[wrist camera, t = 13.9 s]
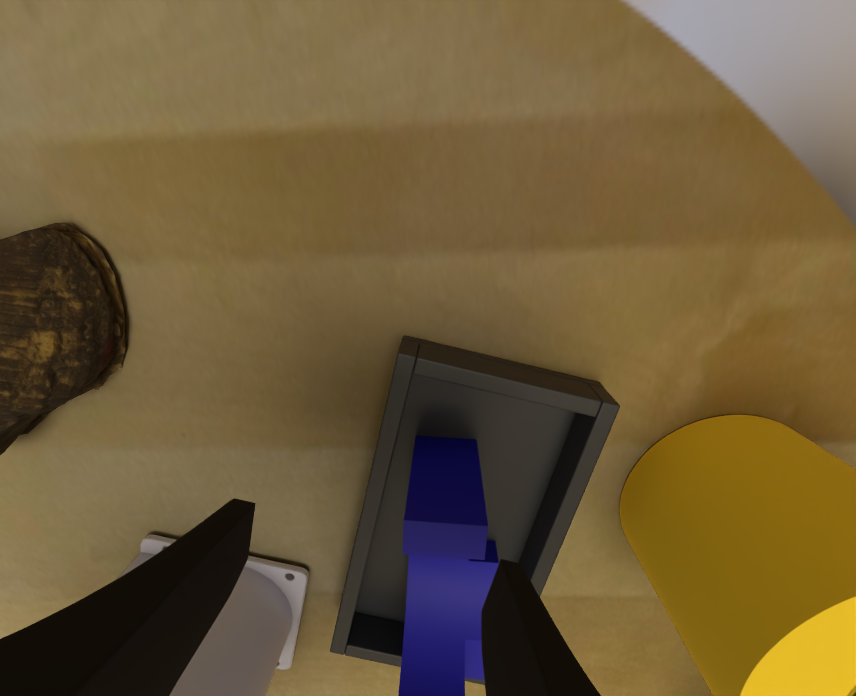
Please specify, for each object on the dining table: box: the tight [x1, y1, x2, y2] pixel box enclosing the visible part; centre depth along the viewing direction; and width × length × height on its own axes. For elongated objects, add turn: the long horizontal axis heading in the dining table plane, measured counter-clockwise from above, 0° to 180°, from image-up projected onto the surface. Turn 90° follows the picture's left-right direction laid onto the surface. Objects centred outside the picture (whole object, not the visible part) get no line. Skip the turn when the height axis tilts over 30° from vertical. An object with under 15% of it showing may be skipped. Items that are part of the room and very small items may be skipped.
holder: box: [330, 336, 620, 685], centre depth 21 cm, size 10×18×3 cm, turn 167°
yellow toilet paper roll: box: [620, 415, 856, 696], centre depth 17 cm, size 10×10×9 cm
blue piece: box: [399, 435, 499, 696], centre depth 20 cm, size 12×4×6 cm, turn 177°
